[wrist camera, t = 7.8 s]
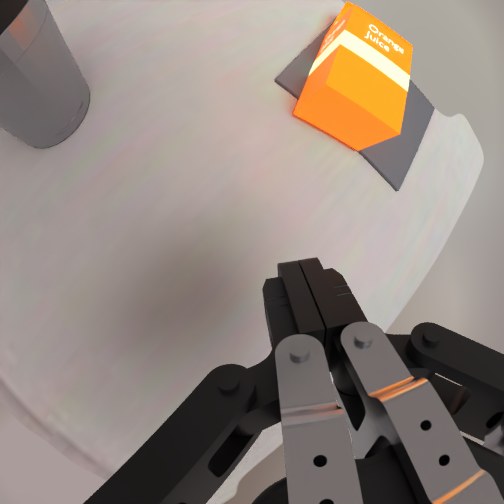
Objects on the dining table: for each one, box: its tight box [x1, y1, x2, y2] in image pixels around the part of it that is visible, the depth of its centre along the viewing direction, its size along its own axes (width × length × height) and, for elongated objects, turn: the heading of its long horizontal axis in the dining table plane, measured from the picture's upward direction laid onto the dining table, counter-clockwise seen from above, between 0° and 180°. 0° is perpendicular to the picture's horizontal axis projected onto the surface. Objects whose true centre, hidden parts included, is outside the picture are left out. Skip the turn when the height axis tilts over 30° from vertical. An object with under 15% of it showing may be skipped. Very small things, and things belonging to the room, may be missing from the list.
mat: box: [275, 24, 435, 191], centre depth 31 cm, size 20×18×1 cm
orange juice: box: [293, 1, 413, 151], centre depth 26 cm, size 8×9×20 cm
